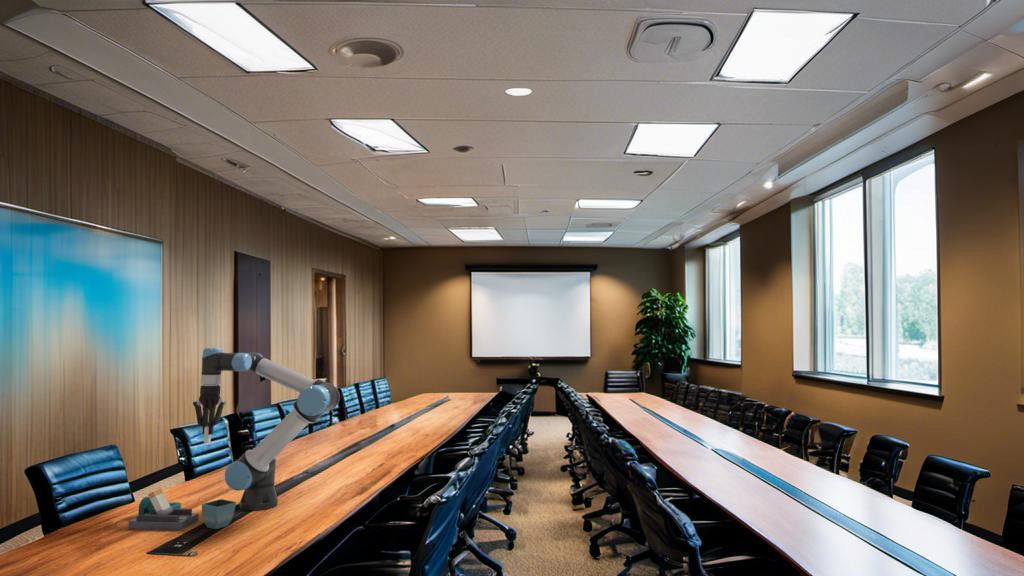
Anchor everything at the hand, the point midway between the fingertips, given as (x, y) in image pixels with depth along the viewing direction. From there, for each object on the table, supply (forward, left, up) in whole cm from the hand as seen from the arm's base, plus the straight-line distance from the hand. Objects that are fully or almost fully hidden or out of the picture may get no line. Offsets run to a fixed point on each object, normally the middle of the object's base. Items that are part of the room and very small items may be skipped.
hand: (207, 442), depth 250 cm
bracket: (+16, +1, -29) cm, 33 cm away
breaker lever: (+5, +17, -25) cm, 31 cm away
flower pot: (-15, +18, -29) cm, 37 cm away
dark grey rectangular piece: (+6, +17, -25) cm, 31 cm away
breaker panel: (+6, +17, -28) cm, 34 cm away
